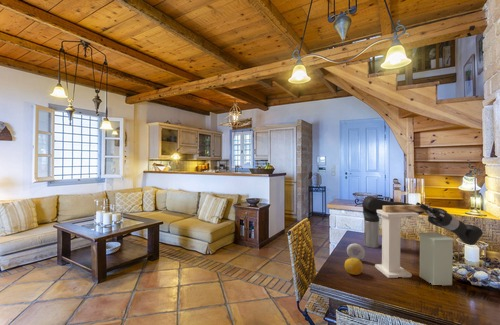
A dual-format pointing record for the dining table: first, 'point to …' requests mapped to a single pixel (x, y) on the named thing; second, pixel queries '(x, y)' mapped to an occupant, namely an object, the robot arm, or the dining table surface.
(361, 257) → the donut
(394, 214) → the tall stand
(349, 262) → the fruit
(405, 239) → the dining table surface
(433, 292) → the dining table surface
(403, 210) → the wooden bar
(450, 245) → the green post
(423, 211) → the robot arm
